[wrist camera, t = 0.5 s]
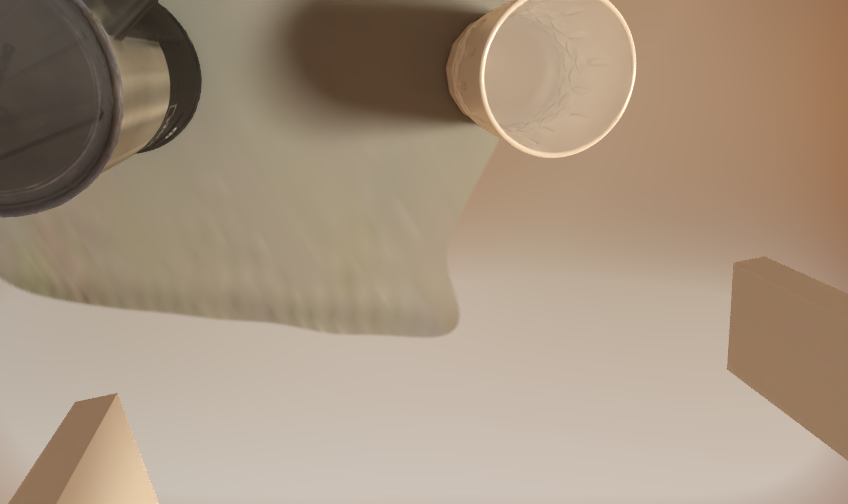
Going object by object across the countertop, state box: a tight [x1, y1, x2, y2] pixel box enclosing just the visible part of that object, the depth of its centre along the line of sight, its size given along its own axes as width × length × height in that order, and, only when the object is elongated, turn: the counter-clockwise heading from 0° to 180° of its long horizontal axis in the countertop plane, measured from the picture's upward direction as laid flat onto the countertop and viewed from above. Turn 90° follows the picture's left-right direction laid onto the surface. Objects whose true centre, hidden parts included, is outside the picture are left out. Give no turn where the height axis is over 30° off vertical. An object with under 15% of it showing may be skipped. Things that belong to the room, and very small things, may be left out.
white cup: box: [446, 0, 636, 158], centre depth 32 cm, size 8×8×10 cm
